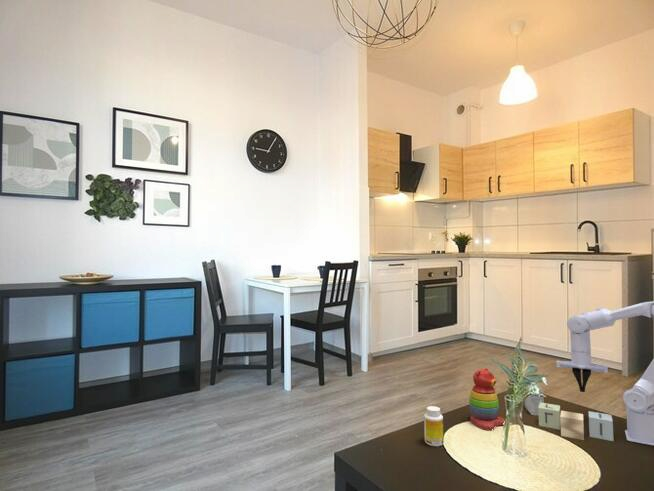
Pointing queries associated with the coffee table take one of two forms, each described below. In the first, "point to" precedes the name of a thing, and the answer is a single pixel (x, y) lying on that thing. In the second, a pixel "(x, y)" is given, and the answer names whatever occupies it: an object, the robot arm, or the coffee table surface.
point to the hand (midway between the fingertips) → (582, 391)
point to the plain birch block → (572, 425)
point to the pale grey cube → (601, 426)
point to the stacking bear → (484, 401)
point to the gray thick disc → (533, 404)
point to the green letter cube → (549, 415)
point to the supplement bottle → (433, 426)
